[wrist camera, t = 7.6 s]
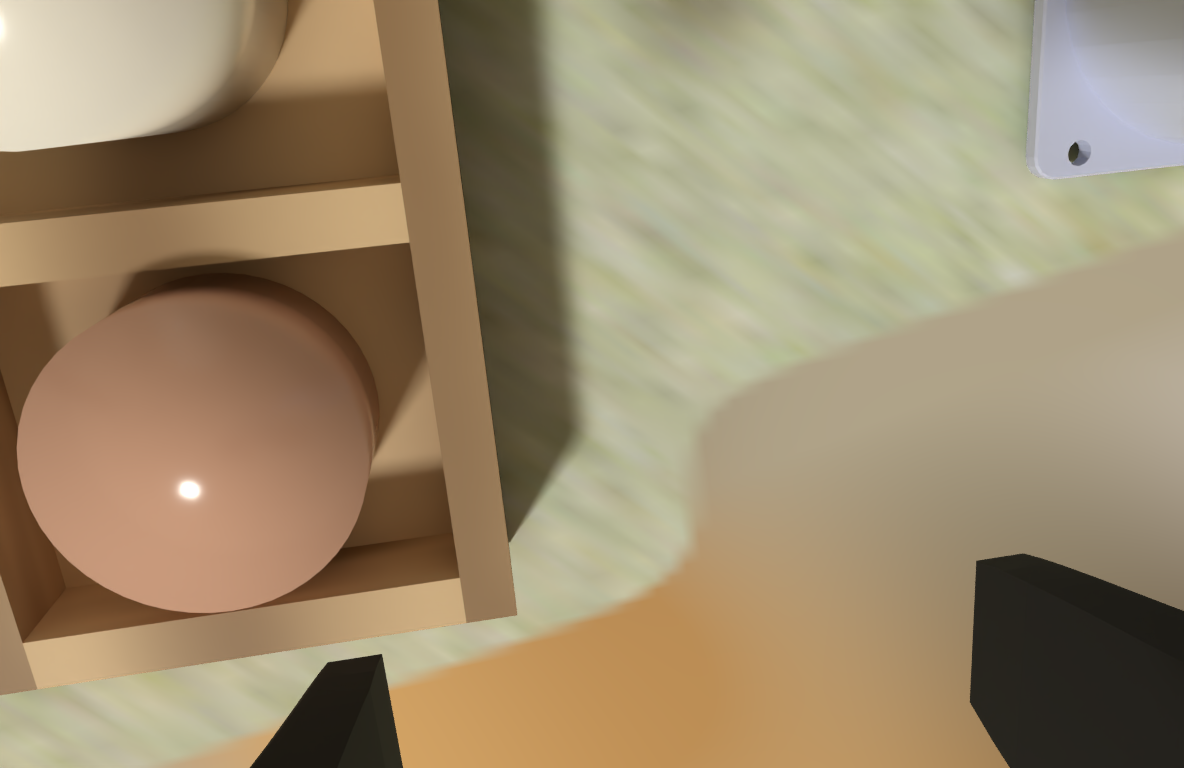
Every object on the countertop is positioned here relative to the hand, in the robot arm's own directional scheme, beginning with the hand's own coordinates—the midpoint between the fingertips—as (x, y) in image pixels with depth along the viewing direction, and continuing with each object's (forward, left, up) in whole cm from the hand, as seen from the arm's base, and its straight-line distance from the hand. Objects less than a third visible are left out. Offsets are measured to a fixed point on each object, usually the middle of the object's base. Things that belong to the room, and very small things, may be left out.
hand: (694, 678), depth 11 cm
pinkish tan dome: (+7, -1, -9) cm, 11 cm away
